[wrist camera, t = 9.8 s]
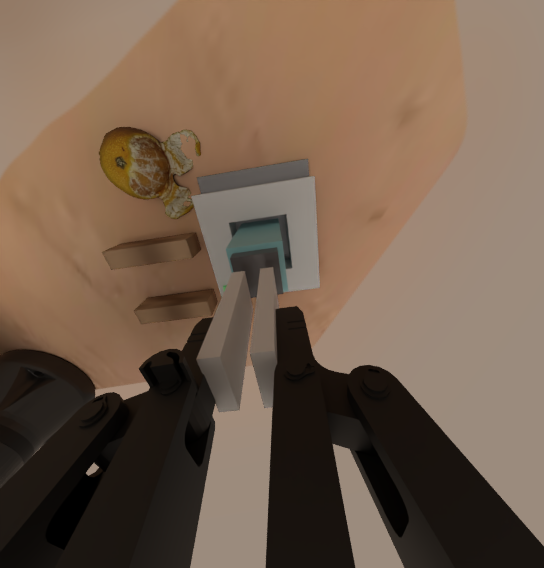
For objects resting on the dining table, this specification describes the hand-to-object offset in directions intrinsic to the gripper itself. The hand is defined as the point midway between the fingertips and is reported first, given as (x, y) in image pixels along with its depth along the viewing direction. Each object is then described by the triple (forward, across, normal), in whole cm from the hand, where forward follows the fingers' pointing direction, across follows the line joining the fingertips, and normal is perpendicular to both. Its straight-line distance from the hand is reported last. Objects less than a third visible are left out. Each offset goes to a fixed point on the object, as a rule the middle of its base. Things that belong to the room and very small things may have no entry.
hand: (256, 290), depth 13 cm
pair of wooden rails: (+12, -12, -3) cm, 18 cm away
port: (+12, 0, 0) cm, 12 cm away
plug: (+12, 0, 0) cm, 12 cm away
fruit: (+13, -9, +8) cm, 18 cm away
